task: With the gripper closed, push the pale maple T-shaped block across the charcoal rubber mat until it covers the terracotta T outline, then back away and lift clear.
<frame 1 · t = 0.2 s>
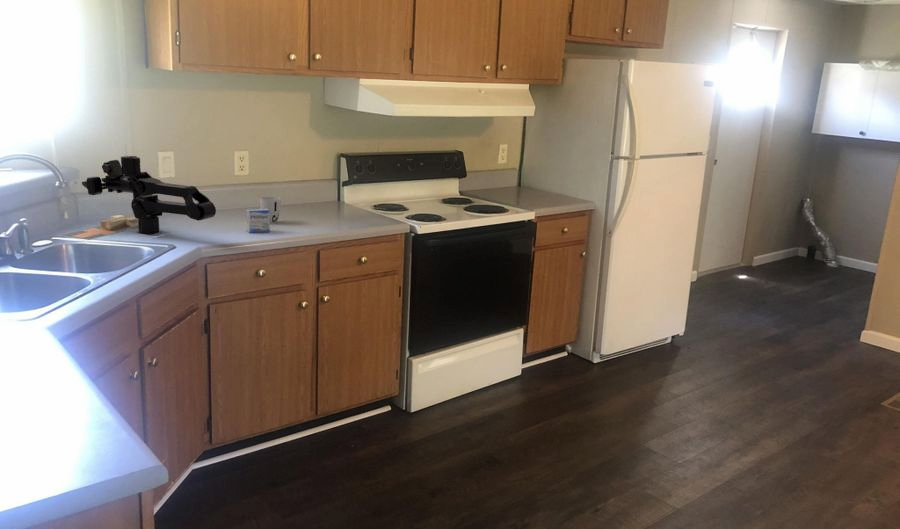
hand: (92, 181, 266), 16 cm above the counter, tool horizontal, fingers open, 9 cm apart
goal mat: (104, 231, 261), on the counter
cup: (270, 223, 292), on the counter
medicine box: (258, 232, 275), on the counter
t block: (117, 227, 267), point 1 cm above the counter, touching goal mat
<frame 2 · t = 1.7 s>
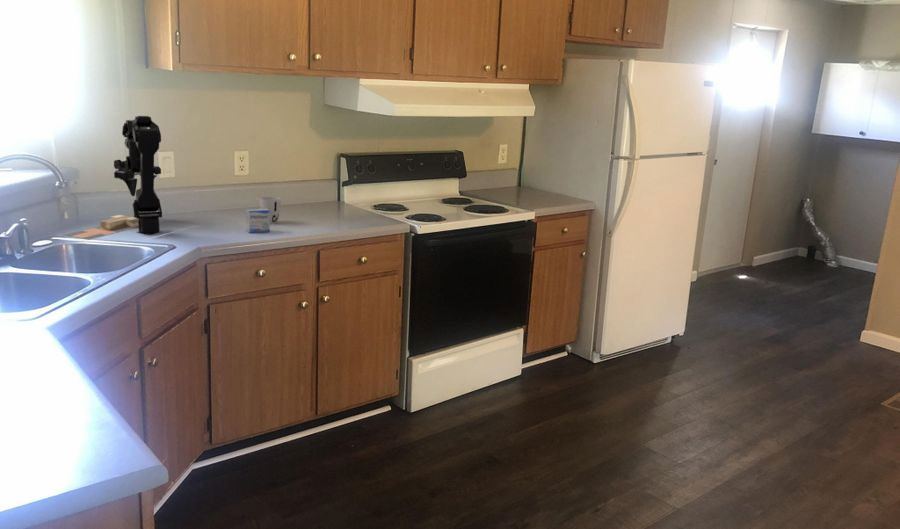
hand: (139, 194, 275), 11 cm above the counter, tool pointing down, fingers open, 6 cm apart
nothing on the counter moved.
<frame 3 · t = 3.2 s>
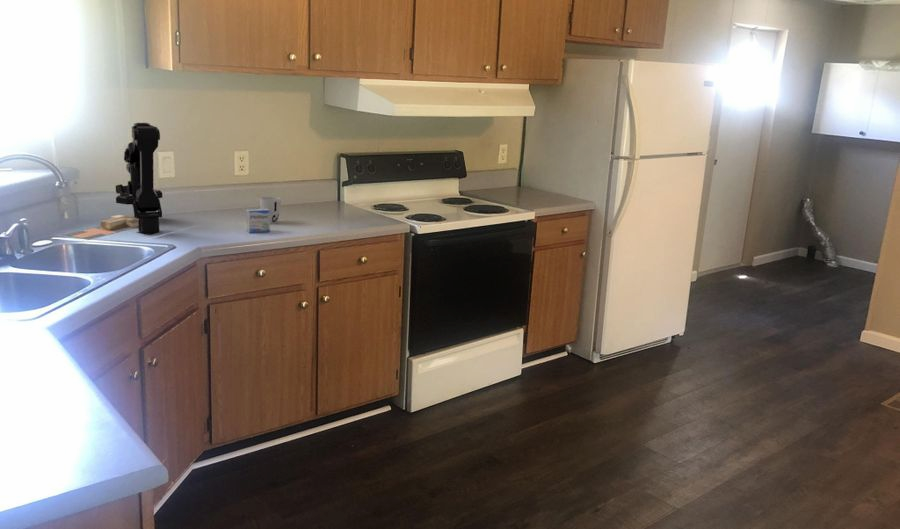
hand: (141, 218, 277), 2 cm above the counter, tool pointing down, fingers closed
nothing on the counter moved.
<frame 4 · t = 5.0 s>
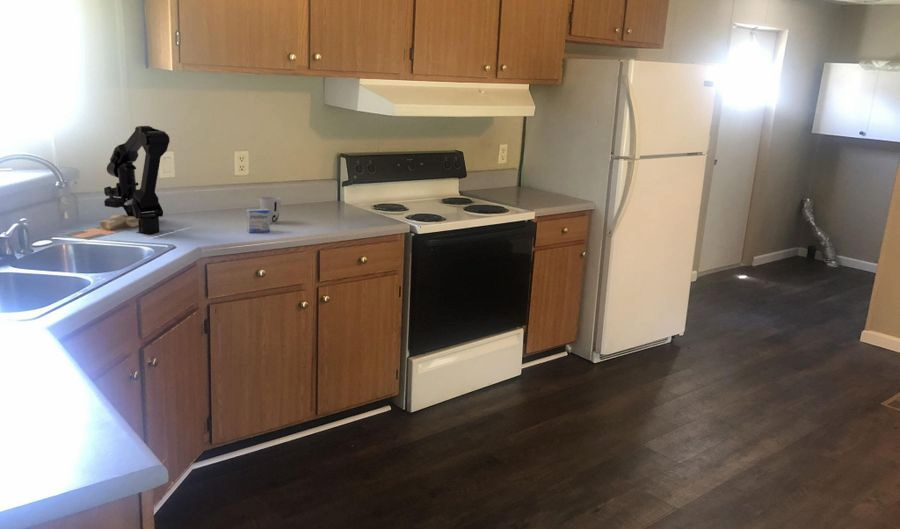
hand: (131, 220, 273), 2 cm above the counter, tool pointing down, fingers closed
t block: (117, 226, 267), point 1 cm above the counter, touching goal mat, gripper
everything else where it was.
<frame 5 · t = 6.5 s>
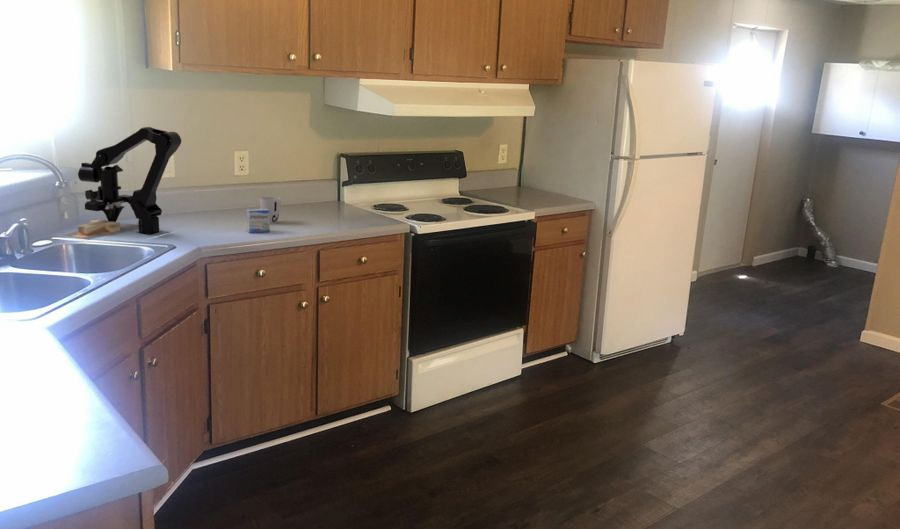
hand: (112, 225, 264), 2 cm above the counter, tool pointing down, fingers closed
t block: (96, 231, 258), point 1 cm above the counter, touching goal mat, gripper
everything else where it was.
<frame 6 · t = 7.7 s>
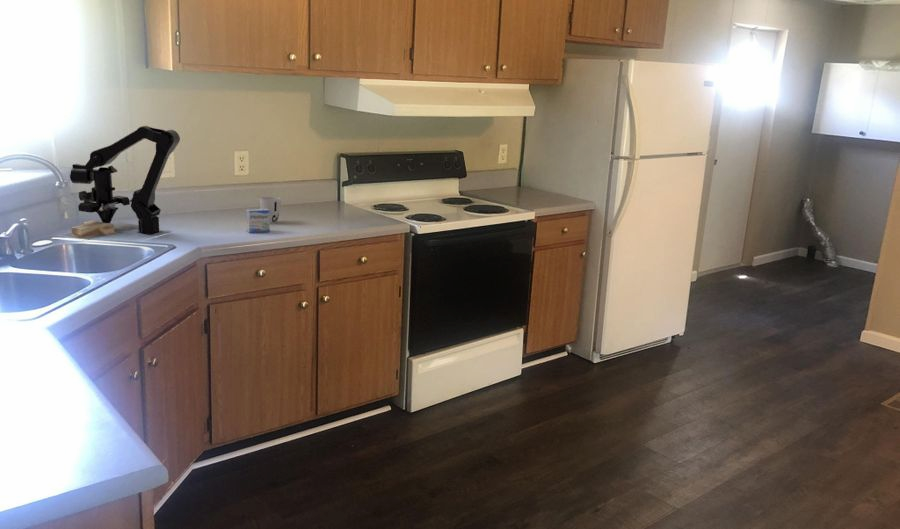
hand: (106, 227, 262), 2 cm above the counter, tool pointing down, fingers closed
t block: (90, 233, 255), point 1 cm above the counter, touching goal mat, gripper
everything else where it was.
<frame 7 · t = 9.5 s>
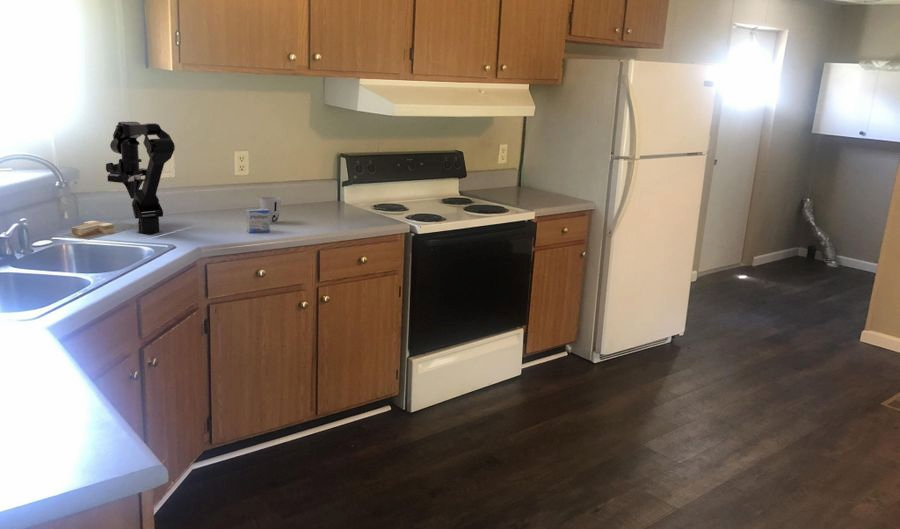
hand: (132, 198, 268), 11 cm above the counter, tool pointing down, fingers closed
t block: (90, 233, 255), point 1 cm above the counter, touching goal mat
everything else where it was.
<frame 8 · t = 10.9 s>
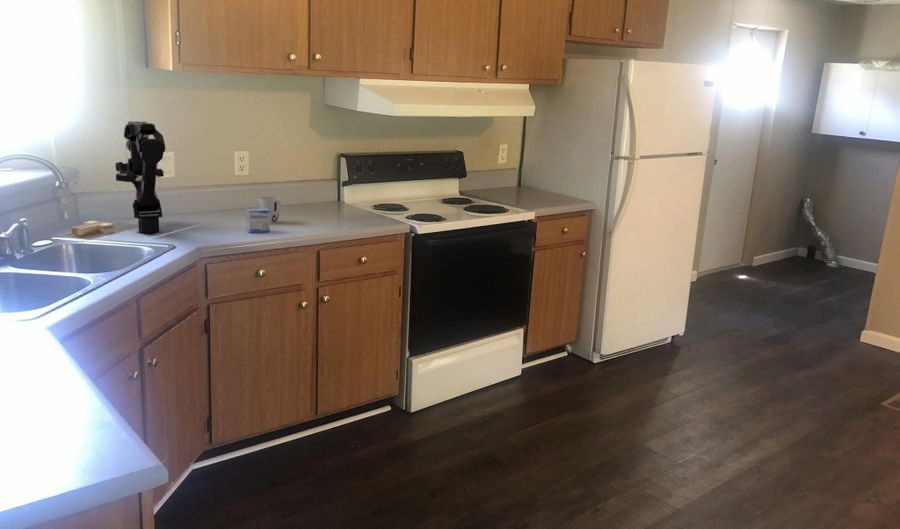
hand: (141, 197, 270), 11 cm above the counter, tool pointing down, fingers closed
nothing on the counter moved.
at the end: t block 0.3 cm from the target spot, point 0.6 cm above the counter; t block tilted 0° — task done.
